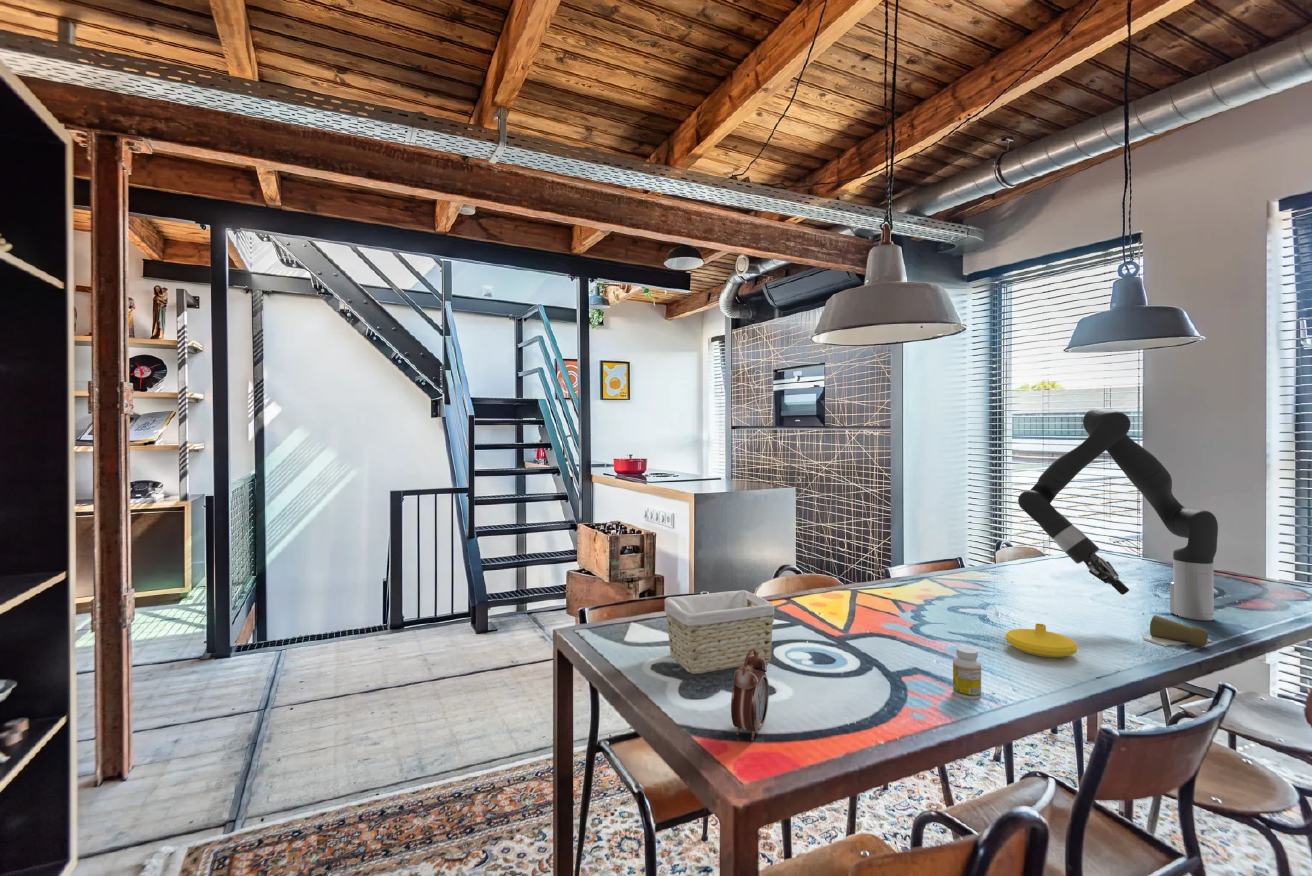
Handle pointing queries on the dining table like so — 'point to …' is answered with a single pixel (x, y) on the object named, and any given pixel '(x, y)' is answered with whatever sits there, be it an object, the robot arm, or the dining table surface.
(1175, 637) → the cork
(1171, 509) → the robot arm
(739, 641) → the storage basket
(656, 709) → the dining table surface
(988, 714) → the dining table surface
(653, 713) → the dining table surface
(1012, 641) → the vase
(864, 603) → the dining table surface
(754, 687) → the alarm clock
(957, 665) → the supplement bottle
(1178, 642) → the pad
